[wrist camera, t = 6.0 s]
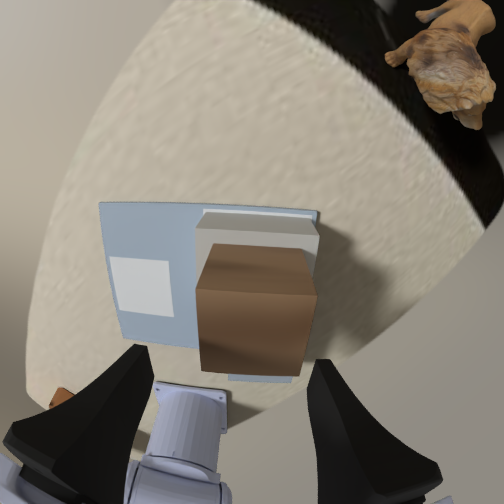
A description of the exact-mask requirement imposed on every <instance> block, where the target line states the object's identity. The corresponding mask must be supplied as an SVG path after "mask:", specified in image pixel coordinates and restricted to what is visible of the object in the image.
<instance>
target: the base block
mask: <svg viewBox="0 0 504 504" xmlns="http://www.w3.org/2000/svg"><path fill="white" fill-rule="evenodd" d="M319 237H320V236H319V234H318V232H317V230H316V229H315V227H314V225H313V224H312V222H311V220H310V218H302V217H289V216H274V215H259V214H242V213H222V212H206V213H205V214H204V215H203V217H202V218H201V220H200V221H199V223H198V224H197V226H196V227H195V253H196V281H197V283H198V280H199V278H200V275H201V273H202V270H203V268H204V265H205V263H206V260H207V258H208V255H209V253H210V250H211V248H212V245H213V243H218V244H235V245H252V246H268V247H285V248H301V249H302V251H303V254H304V257H305V260H306V263H307V266H308V268H309V271H310V274H311V277H312V280H313V275H314V269H315V263H316V256H317V250H318V244H319Z"/></svg>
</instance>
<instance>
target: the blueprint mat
mask: <svg viewBox="0 0 504 504" xmlns="http://www.w3.org/2000/svg"><path fill="white" fill-rule="evenodd" d="M99 212H100V221H101V230H102V237H103V244H104V251H105V257H106V263H107V269H108V274H109V279H110V285H111V289H112V294H113V299H114V303H115V307H116V312H117V316H118V320H119V324H120V327H121V331H122V335H123V338H126V339H132V340H138V341H144V342H150V343H157V344H164V345H171V346H179V347H187V348H196V349H199V338H198V325H197V311H196V294H195V288H196V286H197V281H196V253H195V227H196V226H197V224H198V223H199V221H200V220H201V218H202V217H203V215H204V214H205V213H206V212H222V213H242V214H259V215H274V216H289V217H302V218H310V220H311V222H312V224H313V225H314V227H315V225H316V217H317V211H316V210H306V209H293V208H280V207H265V206H249V205H230V204H207V203H176V202H100V203H99Z"/></svg>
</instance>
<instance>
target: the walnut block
mask: <svg viewBox="0 0 504 504" xmlns="http://www.w3.org/2000/svg"><path fill="white" fill-rule="evenodd" d="M195 294H196V311H197V325H198V338H199V350H200V362H201V371H205V372H214V373H226V374H240V375H258V376H299V375H300V371H301V367H302V363H303V359H304V355H305V351H306V347H307V343H308V339H309V334H310V330H311V326H312V321H313V316H314V312H315V307H316V302H317V297H318V295H317V292H316V289H315V286H314V283H313V280H312V277H311V274H310V271H309V268H308V266H307V263H306V260H305V257H304V254H303V251H302V249H301V248H285V247H268V246H252V245H235V244H218V243H213V245H212V248H211V250H210V253H209V255H208V258H207V260H206V263H205V265H204V268H203V270H202V273H201V275H200V278H199V280H198V283H197V286H196V288H195Z"/></svg>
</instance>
